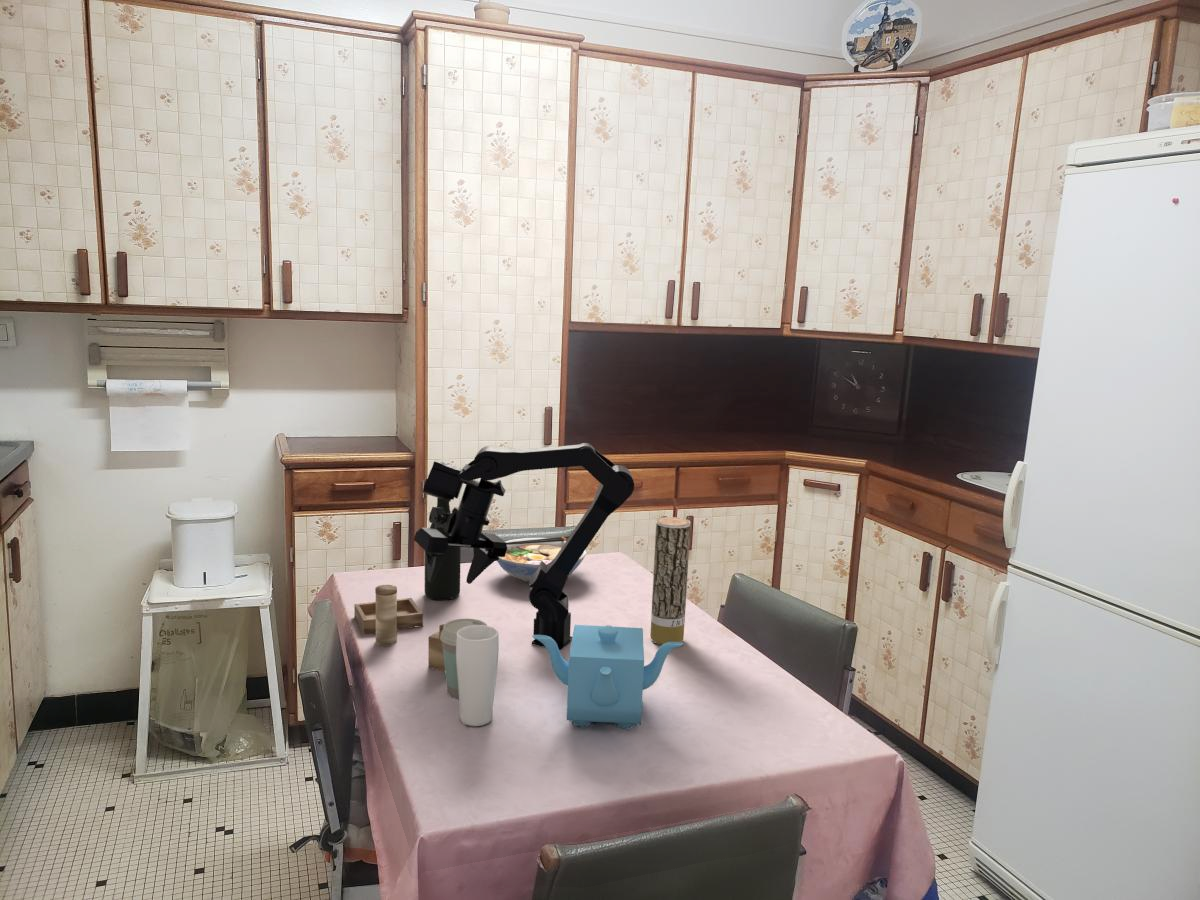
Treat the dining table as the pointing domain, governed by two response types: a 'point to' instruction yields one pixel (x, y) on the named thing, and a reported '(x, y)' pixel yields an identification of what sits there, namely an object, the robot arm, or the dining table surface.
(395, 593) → the beech dowel
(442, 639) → the coffee cup
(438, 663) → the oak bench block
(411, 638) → the dining table surface
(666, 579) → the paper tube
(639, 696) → the teakettle
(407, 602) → the walnut tray
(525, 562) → the ramen bowl
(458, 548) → the wine bottle
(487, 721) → the drinking glass
